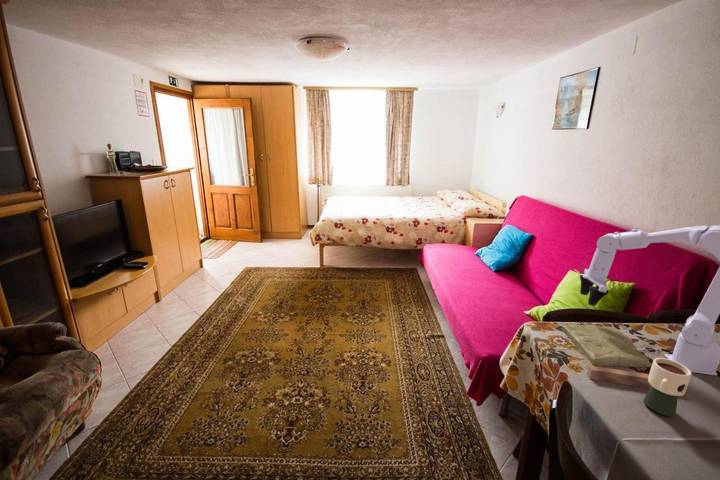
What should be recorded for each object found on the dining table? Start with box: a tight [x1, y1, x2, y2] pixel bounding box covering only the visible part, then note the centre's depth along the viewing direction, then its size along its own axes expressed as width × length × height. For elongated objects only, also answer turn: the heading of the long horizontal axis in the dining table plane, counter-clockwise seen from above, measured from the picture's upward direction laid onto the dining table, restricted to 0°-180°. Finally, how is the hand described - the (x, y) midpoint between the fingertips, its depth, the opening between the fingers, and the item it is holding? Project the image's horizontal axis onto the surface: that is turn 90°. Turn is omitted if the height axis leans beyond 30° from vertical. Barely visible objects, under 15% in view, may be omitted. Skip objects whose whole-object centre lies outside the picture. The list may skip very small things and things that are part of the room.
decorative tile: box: [561, 324, 651, 368], centre depth 111 cm, size 19×20×4 cm
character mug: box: [643, 357, 693, 417], centre depth 84 cm, size 11×7×13 cm, turn 127°
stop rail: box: [586, 365, 651, 389], centre depth 94 cm, size 22×2×3 cm, turn 76°
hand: (587, 299), depth 121 cm, fingers open, 7 cm apart
